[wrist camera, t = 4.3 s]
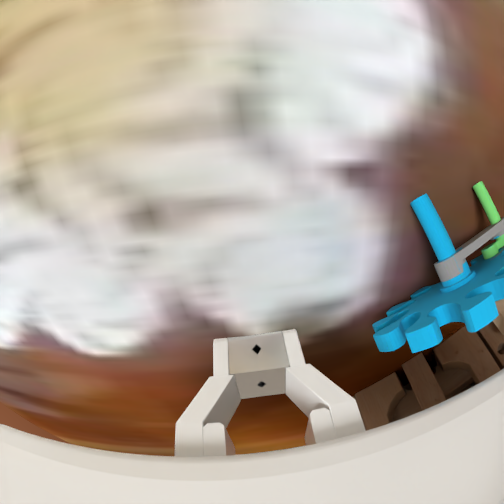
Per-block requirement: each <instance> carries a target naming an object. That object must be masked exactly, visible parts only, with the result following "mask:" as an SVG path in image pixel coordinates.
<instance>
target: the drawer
mask: <svg viewBox="0 0 504 504" xmlns="http://www.w3.org/2000/svg"><path fill="white" fill-rule="evenodd" d="M495 304H496V307H497V310H498V314H499V315H498V316H497V317H496V318H495V319H494V320H493V322H494V324H495V325H496V326H497V328H498V329H499V330H500V332H501V333H502V335H504V299H502V300H499V301H496V302H495Z"/></svg>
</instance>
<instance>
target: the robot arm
mask: <svg viewBox="0 0 504 504" xmlns="http://www.w3.org/2000/svg"><path fill="white" fill-rule="evenodd" d="M213 373H214V376H212V377H209V378H208V380H207V381H206V382H205V384H204V385H203V387H202V388H201V389H200V391H199V392H198V394H197V395H196V396H195V398H194V399H193V401H192V402H191V403H190V405H189V406H188V407H187V409H186V410H185V411H184V413H183V414H182V416H181V417H180V418H179V420H178V421H177V422H176V433H175V456H153V455H139V454H129V453H120V452H112V451H105V450H99V449H93V448H87V447H82V446H77V445H72V444H67V443H63V442H59V441H55V440H51V439H47V438H43V437H40V436H36V435H33V434H29V433H26V432H23V431H20V430H17V429H14V428H12V427H9V426H6V425H2V424H0V504H504V369H502V370H501V371H499V372H497V373H496V374H494V375H492V376H491V377H489V378H487V379H486V380H484V381H482V382H480V383H479V384H477V385H475V386H473V387H471V388H469V389H467V390H466V391H464V392H462V393H460V394H458V395H456V396H454V397H452V398H450V399H447V400H445V401H443V402H441V403H439V404H437V405H434V406H432V407H430V408H428V409H425V410H423V411H420V412H418V413H415V414H413V415H410V416H408V417H405V418H403V419H400V420H397V421H394V422H391V423H389V424H386V425H383V426H380V427H377V428H373V429H370V430H367V431H366V430H365V427H364V424H363V421H362V418H361V415H360V412H359V409H358V406H357V403H356V400H355V399H354V398H353V397H351V396H350V395H349V394H347V393H346V392H345V391H344V390H342V389H341V388H340V387H338V386H337V385H336V384H335V383H333V382H332V381H331V380H330V379H328V378H327V377H326V376H325V375H323V374H322V373H321V372H320V371H318V370H317V369H316V368H315V367H313V366H312V365H311V364H306V363H305V359H304V356H303V352H302V348H301V345H300V341H299V337H298V334H297V331H296V329H291V330H285V331H277V332H270V333H264V334H257V335H253V336H243V337H232V338H221V339H214V342H213ZM284 393H286V395H287V396H288V397H289V398H290V399H291V400H292V401H293V402H294V403H295V404H296V405H297V407H298V408H299V409H300V410H301V411H302V412H303V413H304V414H305V415H306V416H307V417H308V418H309V420H308V424H307V429H306V434H305V442H306V446H301V447H295V448H289V449H283V450H276V451H269V452H261V453H252V454H241V455H235V447H234V445H233V443H232V441H231V439H230V437H229V435H228V433H227V430H226V427H227V425H228V423H229V422H230V420H231V418H232V416H233V414H234V412H235V410H236V409H237V407H238V405H239V403H240V401H241V399H246V398H253V397H260V396H267V395H276V394H284Z"/></svg>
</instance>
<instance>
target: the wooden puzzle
mask: <svg viewBox="0 0 504 504" xmlns="http://www.w3.org/2000/svg"><path fill="white" fill-rule="evenodd" d="M433 352H434V355H435V360H436V367H434V371H435V374H433V372H432V370H431V368H430V367H429V365H428V363H427V361H426V359H425V357H424V356H423V354H422V352H421V353H419V354H418V355H416V356H415V357H413V358H412V359H410V360H409V361H407V362H405V363H404V364H402V365H401V366H402V368H403V370H404V372H405V374H406V376H407V378H408V380H409V382H410V384H411V385H410V384H407V385H405V386H404V387H403V384H402V382H401V380H400V378H399V377H398V375H397V374H396V372H394V373H392V374H391V375H389V376H387V377H385V378H384V379H382V380H380V381H378V382H376V383H375V384H373V385H371V386H369V387H367V388H365V389H363V390H361V391H360V392H358V393H356V394H355V396H353V398H354V399H355V400H356V403H357V406H358V409H359V412H360V415H361V418H362V421H363V424H364V427H365V430H366V431H367V430H370V429H373V428H377V427H380V426H383V425H386V424H389V423H391V422H394V421H397V420H400V419H403V418H405V417H408V416H410V415H413V414H415V413H418V412H420V411H423V410H425V409H428V408H430V407H432V406H434V405H437V404H439V403H441V402H443V401H445V400H447V399H450V398H452V397H454V396H456V395H458V394H460V393H462V392H464V391H466V390H467V389H469V388H471V387H473V386H475V385H477V384H479V383H480V382H482V381H484V380H486V379H487V378H489V377H491V376H492V375H494V374H496V373H497V372H499V371H501V370H502V369H504V335H502V333H501V332H500V330H499V329H498V328H497V326H496V325H495V324H494V322H493V321H492V322H490V323H489V324H488V325H486V326H485V327H483V328H482V329H480V330H478V331H477V332H473V333H472V332H468V331H467V328H466V325H465V326H464V327H462V328H461V329H460V330H459V331H457V332H456V333H455V334H453V335H452V336H451V337H449V338H448V339H446V340H445V341H444V342H442V343H441V344H439V345H438V346H437V347H435V348H434V349H433Z"/></svg>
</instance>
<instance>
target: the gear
mask: <svg viewBox="0 0 504 504" xmlns="http://www.w3.org/2000/svg"><path fill="white" fill-rule="evenodd" d="M473 189H474V191H475V193H476V195H477V197H478V199H479V201H480V203H481V205H482V207H483V209H484V211H485V213H486V215H487V217H488V219H489V221H490V223H491V225H489V226H488V227H487V228H485V229H484V230H483V231H481V232H480V233H478V234H477V235H476V236H474V237H473V238H471V239H470V240H469V241H467V242H466V243H464V244H463V245H461V246H460V247H458V248H457V249H456V250H455V248H454V246H453V244H452V242H451V240H450V237H449V235H448V233H447V231H446V229H445V227H444V225H443V223H442V221H441V219H440V217H439V215H438V213H437V211H436V209H435V208H434V206H433V204H432V202H431V200H430V198H429V197H428V195H427V194H424V195H422V196H420V197H419V198H417V199H415V200H414V201H413V202H411V203H410V204H411V206H412V208H413V210H414V212H415V214H416V216H417V217H418V219H419V221H420V223H421V225H422V227H423V229H424V231H425V233H426V235H427V237H428V239H429V241H430V243H431V245H432V248H433V250H434V252H435V254H436V256H437V258H438V261H437V262H436V263H435V264H434V266H435V269H436V271H437V273H438V276H439V278H440V281H441V282H440V283H437V284H435V285H431V286H426V287H423V288H421V289H419V290H418V291H416V292H415V293H413V294H412V295H411V299H412V300H409V301H407V302H404V303H400V304H398V305H396V306H394V307H392V308H390V309H389V310H388V311H387V313H386V314H387V316H388V317H386V318H384V319H381V320H379V321H377V322H375V323H374V324H373V325H372V326H373V328H374V331H375V334H374V335H373V337H374V339H375V342H376V344H377V347H378V349H379V352H390V351H395V350H396V349H398V348H400V347H401V346H402V345H404V344H405V342H406V338H407V341H408V344H409V346H410V349H411V352H412V353H416V352H419V351H423V350H426V349H428V348H431V347H433V346H435V345H437V344H439V343H440V342H441V341H442V339H443V336H442V333H441V330H440V327H441V326H443V325H445V324H447V323H450V322H463V323H465V325H466V328H467V331H468V332H472V333H473V332H477V331H478V330H480V329H482V328H483V327H485V326H486V325H488V324H489V323H490V322H492V321H493V320H494V319H495V318H496V317H497V316H498V315H499V314H498V310H497V307H496V304H495V302H496V301H499V300H502V299H504V217H502V218H500V216H499V214H498V211H497V209H496V207H495V205H494V203H493V201H492V199H491V197H490V195H489V193H488V191H487V190H486V188H485V186H484V184H483V182H482V181H481V182H479V183H477V184H476V185H474V186H473ZM494 239H495V240H496V241H495V242H494V243H492V244H490V245H488V246H486V247H485V248H483V249H482V250H481V252H482V255H480V256H478V257H476V258H475V259H473V260H472V261H471V265H472V266H471V267H469V266H468V263H467V261H466V259H465V258H466V257H467V256H469V255H470V254H471V253H473V252H474V251H475V250H477V249H478V248H479V247H481V246H482V245H483V244H485V243H486V242H487V241H488V240H494Z"/></svg>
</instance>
